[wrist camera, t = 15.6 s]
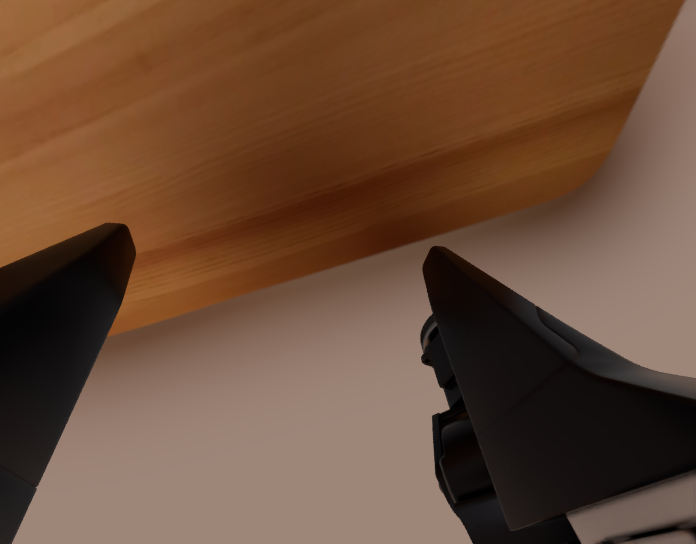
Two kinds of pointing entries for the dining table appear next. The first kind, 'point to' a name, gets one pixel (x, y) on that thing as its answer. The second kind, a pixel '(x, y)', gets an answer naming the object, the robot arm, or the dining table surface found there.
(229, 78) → the dining table surface
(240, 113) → the dining table surface
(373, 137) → the dining table surface
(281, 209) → the dining table surface
